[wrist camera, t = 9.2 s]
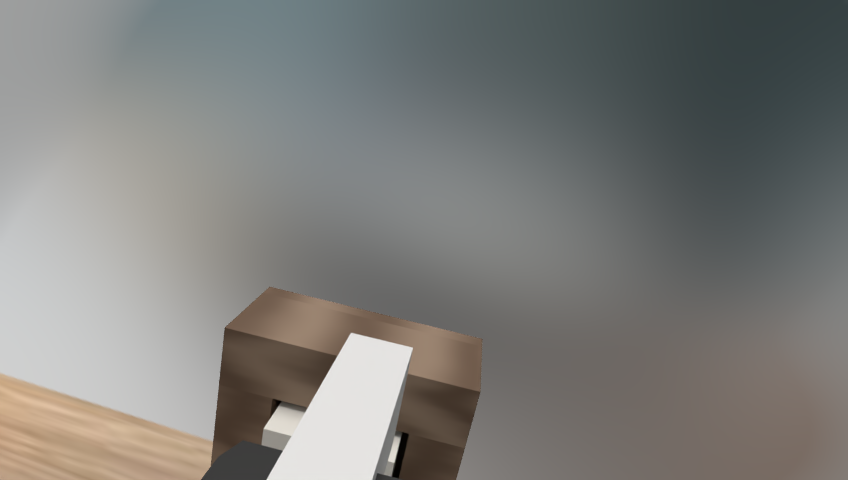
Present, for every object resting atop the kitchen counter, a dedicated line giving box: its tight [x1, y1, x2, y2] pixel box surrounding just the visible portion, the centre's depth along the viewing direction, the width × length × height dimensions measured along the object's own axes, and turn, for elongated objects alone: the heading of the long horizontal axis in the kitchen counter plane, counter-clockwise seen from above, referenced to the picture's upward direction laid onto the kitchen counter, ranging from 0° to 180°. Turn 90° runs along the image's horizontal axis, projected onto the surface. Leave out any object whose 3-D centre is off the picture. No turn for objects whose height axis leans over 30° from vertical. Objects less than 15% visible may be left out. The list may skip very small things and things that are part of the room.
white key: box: [261, 401, 403, 477], centre depth 30 cm, size 7×5×6 cm
